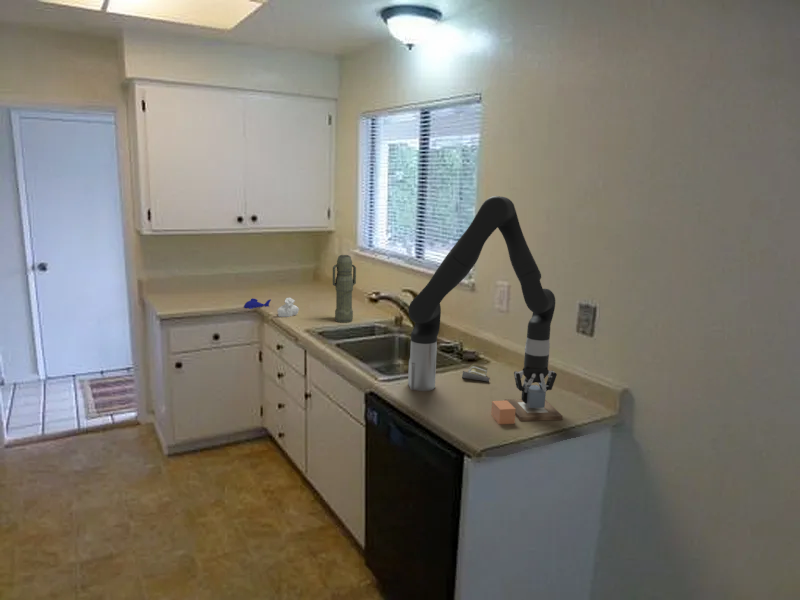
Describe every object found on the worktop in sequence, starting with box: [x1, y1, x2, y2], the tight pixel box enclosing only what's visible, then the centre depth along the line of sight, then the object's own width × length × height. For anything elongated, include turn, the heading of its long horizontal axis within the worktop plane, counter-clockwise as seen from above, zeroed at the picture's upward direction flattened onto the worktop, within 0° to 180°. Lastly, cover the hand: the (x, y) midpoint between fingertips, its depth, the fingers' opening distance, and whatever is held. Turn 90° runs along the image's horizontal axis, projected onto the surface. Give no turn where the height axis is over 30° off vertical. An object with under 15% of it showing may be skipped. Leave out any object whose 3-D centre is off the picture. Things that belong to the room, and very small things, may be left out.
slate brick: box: [525, 384, 547, 408], centre depth 186 cm, size 5×7×5 cm
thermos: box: [332, 254, 357, 324], centre depth 292 cm, size 9×12×35 cm
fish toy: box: [243, 297, 272, 310], centre depth 319 cm, size 15×8×7 cm, turn 115°
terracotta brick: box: [491, 399, 516, 425], centre depth 179 cm, size 5×7×5 cm
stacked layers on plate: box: [461, 363, 490, 383], centre depth 217 cm, size 10×9×6 cm
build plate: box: [504, 398, 564, 422], centre depth 187 cm, size 14×15×1 cm
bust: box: [277, 297, 300, 318], centre depth 303 cm, size 12×8×11 cm, turn 125°
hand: (533, 401), depth 186 cm, fingers closed on slate brick, 4 cm apart
